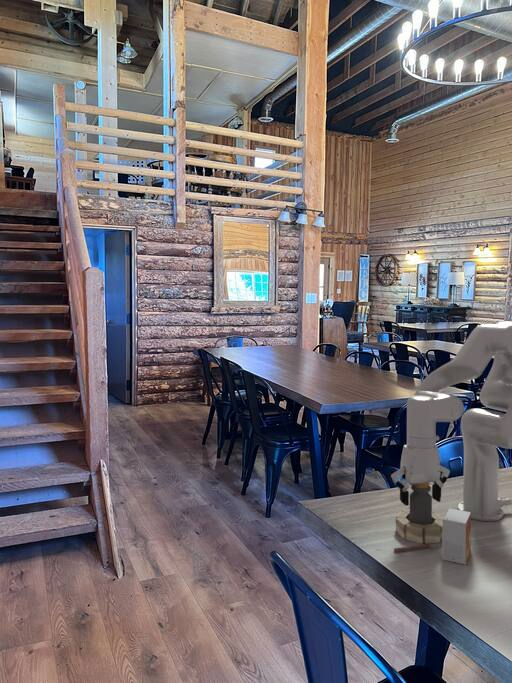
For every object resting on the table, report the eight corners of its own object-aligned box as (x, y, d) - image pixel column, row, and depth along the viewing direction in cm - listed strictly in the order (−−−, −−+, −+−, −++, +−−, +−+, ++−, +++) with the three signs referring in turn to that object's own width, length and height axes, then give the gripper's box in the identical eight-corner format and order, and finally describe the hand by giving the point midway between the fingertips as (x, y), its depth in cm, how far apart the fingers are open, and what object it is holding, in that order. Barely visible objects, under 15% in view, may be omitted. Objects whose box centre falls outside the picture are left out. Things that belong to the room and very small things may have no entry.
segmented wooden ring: (428, 520, 147) (428, 507, 147) (453, 540, 135) (454, 525, 135) (389, 525, 145) (389, 511, 144) (411, 545, 132) (411, 531, 132)
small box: (465, 565, 122) (466, 524, 121) (441, 559, 125) (442, 519, 124) (471, 551, 129) (471, 511, 128) (448, 546, 132) (448, 507, 131)
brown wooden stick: (428, 546, 132) (428, 543, 132) (430, 547, 131) (430, 545, 131) (393, 551, 130) (393, 548, 130) (395, 552, 129) (395, 550, 129)
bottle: (432, 537, 136) (433, 483, 135) (410, 536, 138) (411, 482, 136) (429, 528, 142) (430, 476, 141) (408, 527, 143) (408, 475, 142)
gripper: (441, 435, 143) (440, 493, 145) (385, 440, 139) (385, 500, 141) (457, 442, 136) (456, 503, 137) (398, 447, 132) (398, 510, 134)
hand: (420, 501), depth 139 cm, fingers open, 9 cm apart
